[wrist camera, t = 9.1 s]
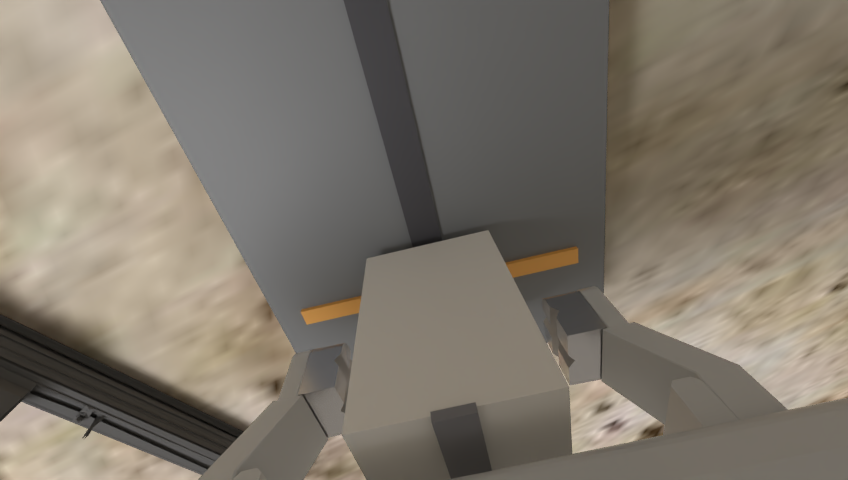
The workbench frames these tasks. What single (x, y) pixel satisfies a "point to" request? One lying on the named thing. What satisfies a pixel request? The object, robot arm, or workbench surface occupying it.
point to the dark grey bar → (105, 400)
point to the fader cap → (450, 368)
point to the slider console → (386, 136)
